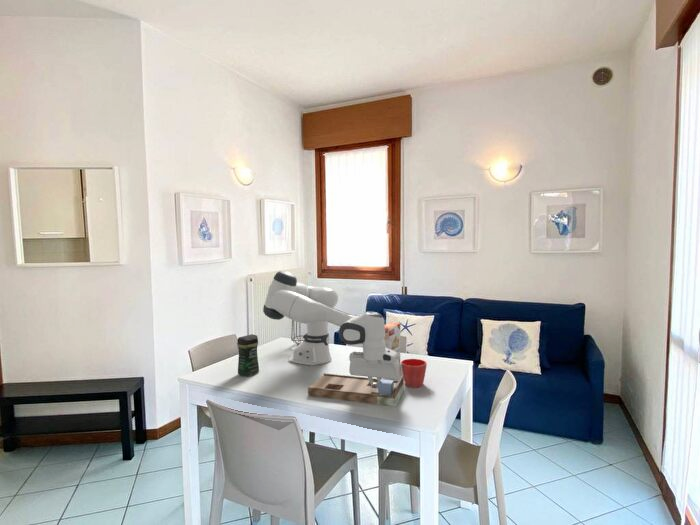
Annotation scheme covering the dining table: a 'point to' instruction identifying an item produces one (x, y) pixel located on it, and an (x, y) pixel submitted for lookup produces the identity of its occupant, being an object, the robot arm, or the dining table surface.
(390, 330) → the cracker box
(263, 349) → the dining table surface
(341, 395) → the box
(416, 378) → the flower pot
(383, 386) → the cube
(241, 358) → the coffee jar
